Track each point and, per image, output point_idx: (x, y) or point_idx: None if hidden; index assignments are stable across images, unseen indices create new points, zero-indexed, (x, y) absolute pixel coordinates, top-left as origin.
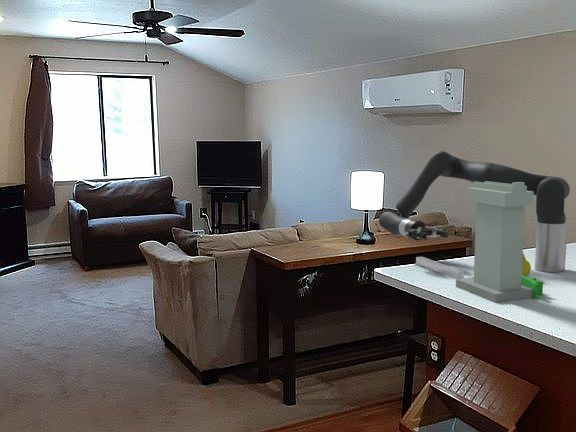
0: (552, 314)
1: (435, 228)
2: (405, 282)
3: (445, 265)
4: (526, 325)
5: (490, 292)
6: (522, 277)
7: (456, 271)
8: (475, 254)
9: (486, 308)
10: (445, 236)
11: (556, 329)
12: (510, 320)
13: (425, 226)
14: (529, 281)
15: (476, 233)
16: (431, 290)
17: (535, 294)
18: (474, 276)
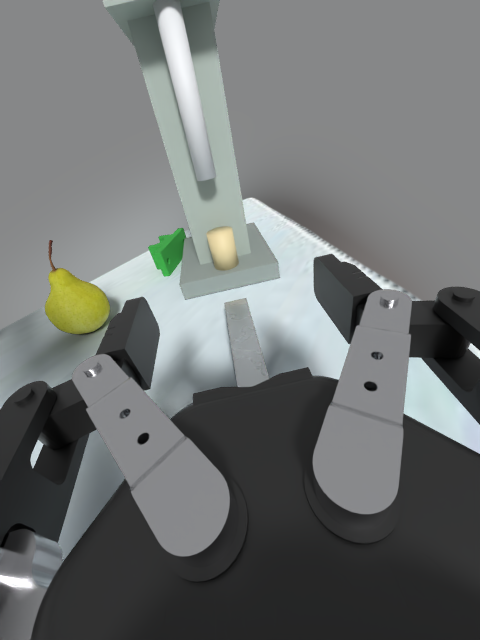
0: None
1: (118, 386)
2: (410, 296)
3: (238, 366)
4: (263, 205)
5: (255, 225)
6: (165, 247)
7: (243, 304)
8: (240, 190)
9: (279, 222)
10: (155, 323)
11: (243, 205)
12: (271, 209)
13: (190, 529)
14: (176, 236)
15: (230, 129)
16: (342, 259)
17: None
18: (248, 241)
